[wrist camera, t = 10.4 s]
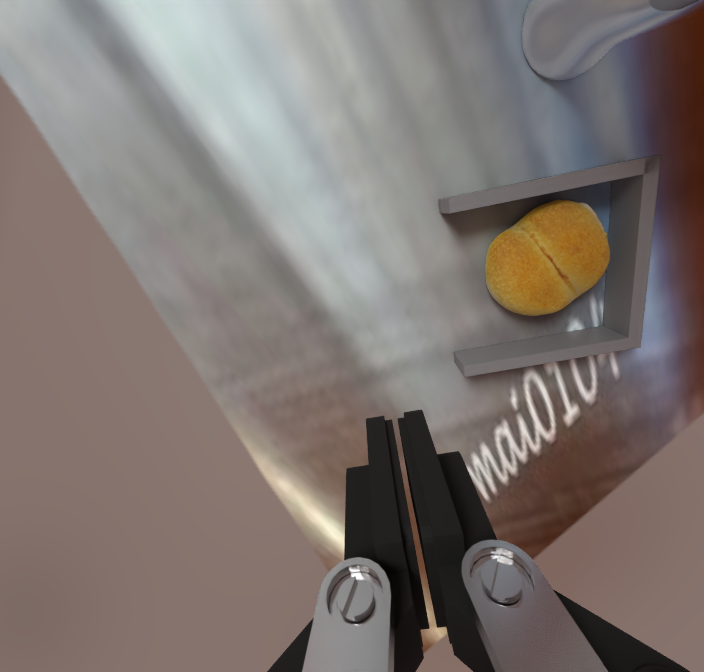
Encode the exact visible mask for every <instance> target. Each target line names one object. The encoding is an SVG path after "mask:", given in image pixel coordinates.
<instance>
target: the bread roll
mask: <svg viewBox="0 0 704 672" xmlns="http://www.w3.org/2000/svg"><path fill="white" fill-rule="evenodd" d="M606 236H607V233H606V232H605V231H604V228H603V226H602V224H601V222H600V221H599V219H598V217H597V215H596V213H595V212H594V211H593V210H592V209H591V208H590V206H589V205H587V204H586V203H582V202H580V203H576V202H573V201H570V200H554V201H551V202H548V203H545V204H543V205H540V206H538V207H536V208H534V209H532V210H531V211H530V212H528V213H527V214H526V215H525V216H524V217H523V218H522V219H521V220H520V221H519V222H517V223H516V224H515V225H513V226H512V227H511V228H509V229H507V230H505V231H503V232H502V233H500V234H499V235H498V236H497V237H496V238H495V239H494V240H493V241H492V242H491V244H490V246H489V248H488V251H487V256H486V265H485V276H486V284H487V287H488V290H489V293H490V294H491V295H492V297H493V298H494V299H495V300H496V301H497V302H498V303H499V304H500V305H502V306H503V307H505V308H506V309H508V310H510V311H512V312H514V313H518V314H522V315H529V316H538V315H544V314H550V313H554V312H557V311H559V310H561V309H563V308H565V307H566V306H567V305H568V304H570V303H571V302H572V301H573V300H574V299H576V298H577V297H578V296H580V295H581V294H583V293H584V292H586V291H587V290H589V289H590V288H591V287H593V286H594V285H595V284H596V283H597V282H598V280H599V279H600V278H601V277H602V276H603V274H604V273H605V271H606V269H607V266H608V263H609V261H610V249H609V244H608V240H607V237H606Z"/></svg>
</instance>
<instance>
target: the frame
mask: <svg viewBox="0 0 704 672" xmlns="http://www.w3.org/2000/svg"><path fill="white" fill-rule="evenodd" d="M660 159H661V155H655V156H650V157H644V158H639V159H633V160H627V161H622V162H618V163H613V164H608V165H603V166H598V167H593V168H589V169H584V170H579V171H574V172H569V173H564V174H560V175H555V176H550V177H545V178H540V179H535V180H531V181H526V182H521V183H516V184H511V185H506V186H502V187H497V188H492V189H487V190H482V191H477V192H473V193H468V194H463V195H458V196H453V197H448V198H443V199H439V210H440V213H455V212H460V211H465V210H469V209H474V208H479V207H484V206H489V205H494V204H499V203H504V202H509V201H514V200H519V199H524V198H528V197H533V196H538V195H543V194H548V193H553V192H558V191H563V190H568V189H573V188H578V187H583V186H587V185H592V184H597V183H602V182H607V181H612V185H611V201H610V217H609V233H608V244H609V249H610V261H609V263H608V266H607V269H606V281H605V297H604V313H603V326H599V327H594V328H588V329H582V330H577V331H571V332H565V333H559V334H554V335H548V336H542V337H536V338H531V339H525V340H519V341H513V342H508V343H502V344H496V345H491V346H485V347H479V348H473V349H468V350H462V351H456V352H454V361H455V363H456V365H457V366H458V368H459V369H460V371H461V372H462V374H463V375H464V377H468V376H474V375H480V374H485V373H491V372H497V371H503V370H509V369H515V368H521V367H527V366H533V365H539V364H545V363H551V362H557V361H562V360H568V359H574V358H580V357H586V356H592V355H598V354H604V353H610V352H616V351H622V350H628V349H634V348H639V347H641V338H642V329H643V319H644V310H645V301H646V291H647V282H648V272H649V263H650V253H651V244H652V234H653V225H654V215H655V206H656V197H657V187H658V178H659V168H660Z"/></svg>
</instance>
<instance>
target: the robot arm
mask: <svg viewBox="0 0 704 672" xmlns="http://www.w3.org/2000/svg"><path fill="white" fill-rule="evenodd" d="M398 424H399V430H400V436H401V441H402V447H403V453H404V459H405V464H406V470H407V476H408V482H409V487H410V493H411V498H412V503H413V508H414V513H415V518H416V523H417V528H418V533H419V539H420V544H421V549H422V554H423V559H424V564H425V569H426V574H427V579H428V584H429V589H430V594H431V599H432V604H433V609H434V614H435V619H436V624H437V628H438V627H446V628H447V632H448V637H449V641H450V644H452V647H453V651H454V655H455V656H457V657H458V658H459V659H460V660H461V661H462V662H463V663H464V664H465V665H467V666H468V667H469V668H470V669H471V670H472V671H473V672H690V671H688V670H687V669H685V668H684V667H682V666H681V665H679V664H677V663H676V662H674V661H672V660H671V659H669V658H667V657H666V656H664V655H662V654H660V653H659V652H657V651H655V650H654V649H652V648H650V647H649V646H647V645H645V644H643V643H642V642H640V641H639V640H637V639H635V638H633V637H632V636H630V635H629V634H627V633H625V632H623V631H622V630H620V629H619V628H617V627H615V626H614V625H612V624H610V623H608V622H607V621H605V620H603V619H602V618H600V617H599V616H597V615H595V614H593V613H592V612H590V611H588V610H587V609H585V608H583V607H582V606H580V605H578V604H577V603H575V602H573V601H572V600H570V599H568V598H567V597H565V596H563V595H562V594H560V593H558V592H557V591H555V590H553V589H552V587H551V586H550V584H549V583H548V581H547V580H546V578H545V577H544V575H543V574H542V572H541V571H540V569H539V568H538V566H537V565H536V564H535V562H534V561H533V560H532V559H531V558H530V557H529V555H528V554H527V553H525V552H524V551H522V550H521V549H520V548H518V547H517V546H515V545H512V544H510V543H508V542H505V541H500V540H497V538H496V536H495V533H494V531H493V529H492V526H491V524H490V522H489V519H488V517H487V515H486V512H485V510H484V508H483V505H482V503H481V501H480V498H479V496H478V493H477V491H476V489H475V486H474V484H473V482H472V479H471V477H470V475H469V472H468V470H467V468H466V465H465V463H464V461H463V458H462V456H461V454H460V453H459V451H457V452H450V453H444V454H437V453H436V450H435V447H434V444H433V441H432V438H431V435H430V432H429V429H428V426H427V423H426V420H425V417H424V414H423V411H422V410H416V411H410V412H404V418H398ZM366 428H367V444H368V460H369V465H365V466H359V467H352V468H347V472H346V510H345V555H344V561H343V562H341V563H339V564H337V565H336V566H335V567H334V568H333V569H332V570H330V572H329V573H328V575H327V576H326V578H325V579H324V581H323V583H322V586H321V589H320V592H319V596H318V601H317V605H316V610H315V615H314V618H313V619H312V620H311V621H310V623H309V624H308V625H307V626H306V627H305V628H304V629H303V631H302V632H301V633H300V634H299V635H298V637H297V638H296V639H295V640H294V641H293V642H292V643H291V645H290V646H289V647H288V648H287V649H286V650H285V652H284V653H283V654H282V655H281V656H280V657H279V659H278V660H277V661H276V662H275V663H274V664H273V666H272V667H271V668H270V669H269V670H268V671H267V672H416V670H417V668H418V667H419V665H420V663H421V662H422V660H423V658H424V656H423V650H422V647H423V643H422V637H421V631H420V630H421V629H429V623H428V617H427V612H426V606H425V601H424V595H423V590H422V584H421V578H420V573H419V567H418V562H417V556H416V551H415V545H414V540H413V534H412V528H411V523H410V517H409V512H408V506H407V501H406V495H405V490H404V484H403V479H402V473H401V468H400V462H399V456H398V451H397V445H396V440H395V434H394V429H393V423H392V420H386V421H385V419H384V416H380V417H373V418H367V419H366Z"/></svg>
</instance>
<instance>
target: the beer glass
mask: <svg viewBox="0 0 704 672" xmlns="http://www.w3.org/2000/svg"><path fill="white" fill-rule="evenodd" d="M701 11H704V0H531V1H530V3H529V5H528V7H527V10H526V13H525V16H524V20H523V25H522V46H523V50H524V54H525V57H526V59H527V61H528V63H529V64H530V66H531V67H532V68H533V69H534V71H536V72H537V73H538V74H539V75H541V76H543V77H545V78H547V79H551V80H567V79H571V78H574V77H576V76H578V75H580V74H582V73H584V72H585V71H587V70H588V69H589V68H591V67H592V66H593V65H594V64H595V63H596V62H598V61H599V60H600V59H601V58H602V57H603V56H604V55H605V54H606V53H607V52H608V51H609V50H610V49H611V48H612V47H613V46H615V45H616V44H618V43H620V42H622V41H624V40H627V39H630V38H632V37H635V36H638V35H641V34H644V33H647V32H650V31H652V30H655V29H658V28H661V27H664V26H666V25H669V24H672V23H675V22H677V21H680V20H682V19H685V18H687V17H689V16H692V15H694V14H697V13H699V12H701Z"/></svg>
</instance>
